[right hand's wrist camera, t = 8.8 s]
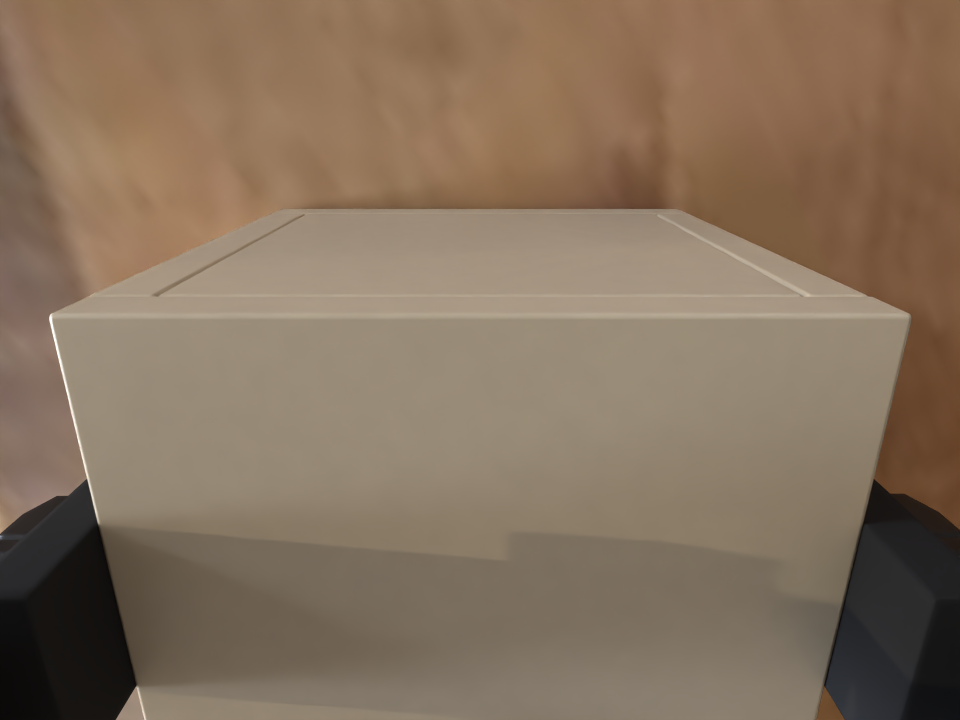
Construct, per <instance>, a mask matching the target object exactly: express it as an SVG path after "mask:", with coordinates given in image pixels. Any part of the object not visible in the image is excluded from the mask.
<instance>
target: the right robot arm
mask: <svg viewBox="0 0 960 720" xmlns="http://www.w3.org/2000/svg"><path fill="white" fill-rule="evenodd" d="M824 686H825V687H826V689H827V691H828V692H829V694H830V696H831V697H832V699H833V701H834V702H835V704H836V706H837V707H838V709H839V710H840V712H841V714H842V715H843V717H844V719H845V720H960V530H959V529H958V528H957V527H955V526H954V525H953V524H952V523H951V522H950V521H948V520H947V519H946V518H945V517H944V516H943V515H941V514H940V513H939V512H937V511H936V510H934V509H932V508H930V507H928V506H926V505H924V504H922V503H921V502H919V501H917V500H915V499H913V498H911V497H909V496H907V495H906V494H890V493H889V492H888V491H886V490H885V489H884V488H883V487H882V486H881V485H880V484H879V483H878V482H877V481H875V480H873V484H872V488H871V492H870V496H869V500H868V505H867V509H866V513H865V517H864V521H863V526H862V530H861V534H860V538H859V542H858V547H857V551H856V555H855V559H854V563H853V567H852V572H851V576H850V580H849V584H848V588H847V593H846V597H845V601H844V605H843V609H842V613H841V618H840V622H839V626H838V630H837V634H836V639H835V643H834V647H833V651H832V655H831V659H830V664H829V668H828V672H827V676H826V680H825V685H824ZM135 687H136V681H135V677H134V673H133V669H132V665H131V660H130V656H129V652H128V648H127V644H126V639H125V635H124V631H123V627H122V623H121V618H120V614H119V610H118V606H117V602H116V597H115V593H114V589H113V585H112V581H111V576H110V572H109V568H108V564H107V560H106V555H105V551H104V547H103V543H102V538H101V534H100V530H99V526H98V522H97V517H96V513H95V509H94V505H93V501H92V496H91V492H90V488H89V484H88V480H87V479H86V480H85V481H84V482H83V483H82V484H81V485H80V486H79V487H78V488H77V489H75V490H74V491H73V492H72V493H71V494H70V495H69V496H56V497H54V498H52V499H51V500H49V501H47V502H45V503H43V504H41V505H39V506H37V507H36V508H34V509H32V510H30V511H28V512H26V513H24V514H23V515H22V516H20V517H19V518H18V519H17V520H16V521H15V522H13V523H12V524H11V525H10V526H9V527H8V528H6V529H5V530H4V531H3V532H2V533H1V534H0V720H116V718H117V717H118V715H119V713H120V712H121V710H122V708H123V707H124V705H125V703H126V702H127V700H128V698H129V697H130V695H131V694H132V692H133V690H134V689H135Z"/></svg>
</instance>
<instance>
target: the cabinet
mask: <svg viewBox="0 0 960 720" xmlns="http://www.w3.org/2000/svg"><path fill="white" fill-rule="evenodd" d="M49 320H50V324H51V328H52V332H53V337H54V341H55V345H56V349H57V353H58V358H59V362H60V366H61V370H62V374H63V379H64V383H65V387H66V391H67V396H68V400H69V404H70V408H71V412H72V417H73V421H74V425H75V429H76V433H77V438H78V442H79V446H80V450H81V454H82V459H83V463H84V467H85V471H86V475H87V480H88V484H89V488H90V492H91V496H92V501H93V505H94V509H95V513H96V517H97V522H98V526H99V530H100V534H101V538H102V543H103V547H104V551H105V555H106V560H107V564H108V568H109V572H110V576H111V581H112V585H113V589H114V593H115V597H116V602H117V606H118V610H119V614H120V618H121V623H122V627H123V631H124V635H125V639H126V644H127V648H128V652H129V656H130V660H131V665H132V669H133V673H134V677H135V681H136V686H137V690H138V694H139V698H140V702H141V707H142V711H143V715H144V719H145V720H816V718H817V714H818V710H819V705H820V701H821V697H822V693H823V689H824V685H825V680H826V676H827V672H828V668H829V664H830V659H831V655H832V651H833V647H834V643H835V639H836V634H837V630H838V626H839V622H840V618H841V613H842V609H843V605H844V601H845V597H846V593H847V588H848V584H849V580H850V576H851V572H852V567H853V563H854V559H855V555H856V551H857V547H858V542H859V538H860V534H861V530H862V526H863V521H864V517H865V513H866V509H867V505H868V500H869V496H870V492H871V488H872V484H873V480H874V475H875V471H876V467H877V463H878V459H879V454H880V450H881V446H882V442H883V438H884V434H885V429H886V425H887V421H888V417H889V413H890V408H891V404H892V400H893V396H894V392H895V388H896V383H897V379H898V375H899V371H900V367H901V362H902V358H903V354H904V350H905V346H906V342H907V337H908V333H909V329H910V325H911V321H912V318H911V315H910V314H909V313H906V312H904V311H902V310H900V309H898V308H895V307H893V306H891V305H889V304H887V303H884V302H882V301H880V300H878V299H876V298H873V297H868V295H865V294H863V293H861V292H859V291H857V290H854V289H852V288H850V287H848V286H846V285H843V284H841V283H839V282H837V281H835V280H832V279H830V278H828V277H826V276H824V275H821V274H819V273H817V272H815V271H813V270H811V269H808V268H806V267H804V266H802V265H800V264H797V263H795V262H793V261H791V260H789V259H786V258H784V257H782V256H780V255H778V254H775V253H773V252H771V251H769V250H767V249H764V248H762V247H760V246H758V245H756V244H753V243H751V242H749V241H747V240H745V239H742V238H740V237H738V236H736V235H734V234H732V233H729V232H727V231H725V230H723V229H721V228H718V227H716V226H714V225H712V224H710V223H707V222H705V221H703V220H701V219H699V218H696V217H694V216H692V215H690V214H688V213H686V212H683V211H681V210H679V209H281V210H279V211H277V212H275V213H271V214H269V215H267V216H265V217H262V218H260V219H258V220H256V221H254V222H251V223H249V224H247V225H245V226H243V227H240V228H238V229H236V230H234V231H231V232H229V233H227V234H225V235H223V236H220V237H218V238H216V239H214V240H212V241H209V242H207V243H205V244H203V245H201V246H198V247H196V248H194V249H192V250H190V251H187V252H185V253H183V254H181V255H178V256H176V257H174V258H172V259H170V260H167V261H165V262H163V263H161V264H159V265H156V266H154V267H152V268H150V269H148V270H145V271H143V272H141V273H139V274H137V275H134V276H132V277H130V278H128V279H125V280H123V281H121V282H119V283H117V284H114V285H112V286H110V287H108V288H106V289H103V290H101V291H99V292H97V293H95V294H92V295H91V296H90V297H87V298H85V299H83V300H80V301H78V302H76V303H74V304H72V305H69V306H67V307H65V308H63V309H61V310H58V311H56V312H54V313H52V314H51V315H50V319H49Z"/></svg>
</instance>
